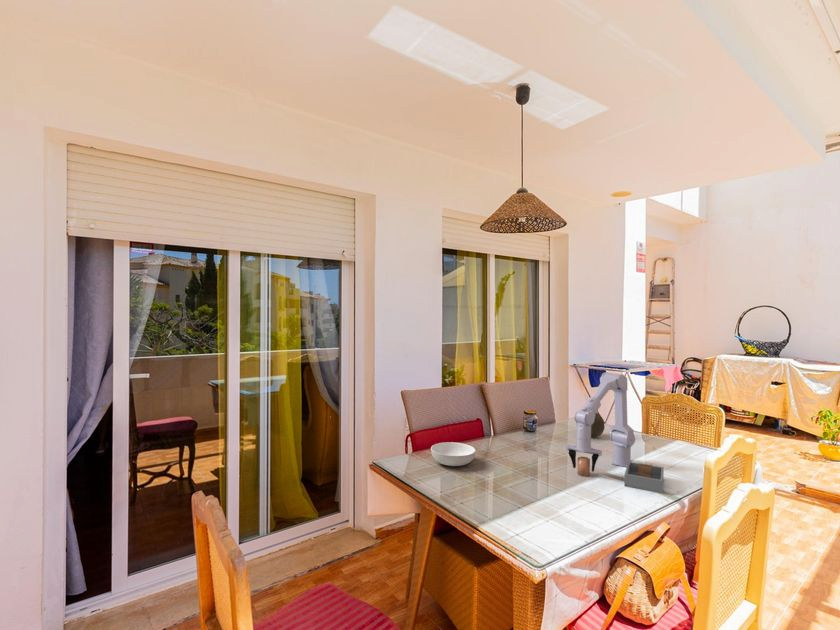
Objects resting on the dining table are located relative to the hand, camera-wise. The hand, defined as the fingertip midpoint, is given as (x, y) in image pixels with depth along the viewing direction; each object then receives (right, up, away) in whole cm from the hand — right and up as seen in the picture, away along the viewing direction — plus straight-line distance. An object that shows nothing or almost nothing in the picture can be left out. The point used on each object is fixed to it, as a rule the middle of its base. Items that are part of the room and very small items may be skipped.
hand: (583, 469), depth 188 cm
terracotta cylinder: (0, -2, 0) cm, 2 cm away
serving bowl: (-56, -2, +13) cm, 58 cm away
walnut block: (+24, -2, -6) cm, 25 cm away
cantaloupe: (+26, -3, +58) cm, 64 cm away
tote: (+22, -3, -9) cm, 24 cm away
